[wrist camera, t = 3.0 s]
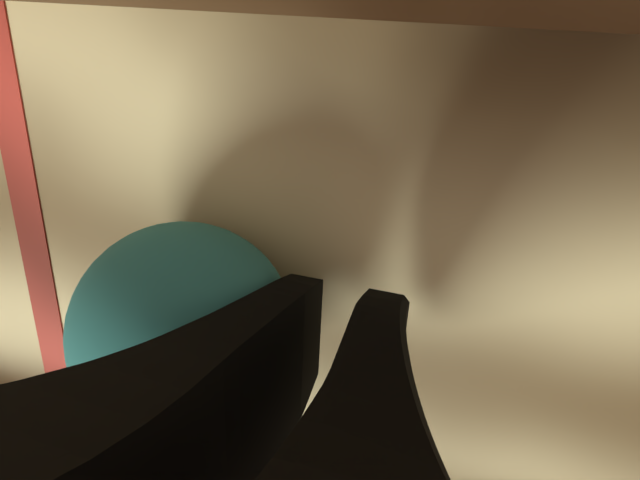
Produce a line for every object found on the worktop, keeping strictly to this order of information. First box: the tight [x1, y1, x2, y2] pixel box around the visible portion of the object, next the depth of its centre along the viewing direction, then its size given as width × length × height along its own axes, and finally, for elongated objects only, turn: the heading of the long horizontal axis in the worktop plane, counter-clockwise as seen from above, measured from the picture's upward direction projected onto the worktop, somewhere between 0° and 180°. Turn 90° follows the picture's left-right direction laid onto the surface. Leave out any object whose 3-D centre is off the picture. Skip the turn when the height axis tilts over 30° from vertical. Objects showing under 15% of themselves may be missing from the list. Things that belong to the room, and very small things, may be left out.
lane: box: [0, 0, 640, 480], centre depth 12 cm, size 13×28×3 cm, turn 89°
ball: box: [63, 221, 281, 367], centre depth 10 cm, size 4×4×4 cm
